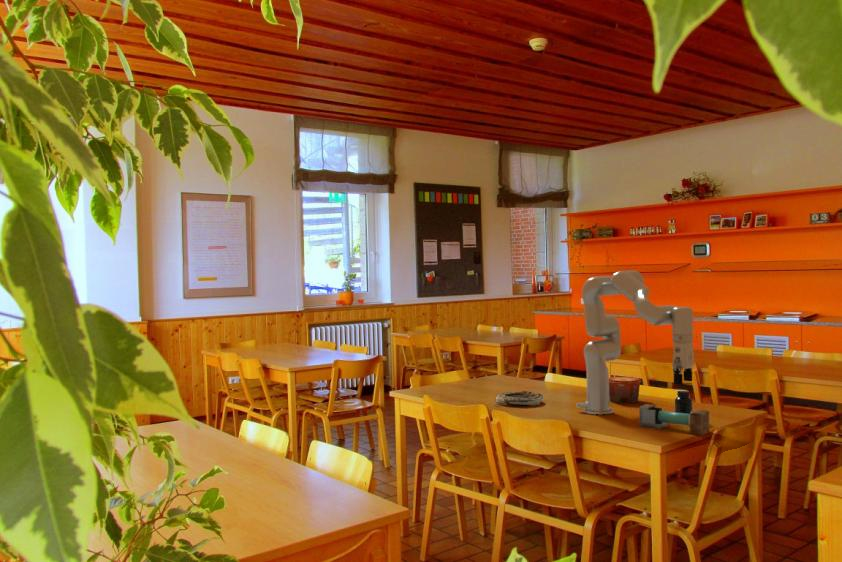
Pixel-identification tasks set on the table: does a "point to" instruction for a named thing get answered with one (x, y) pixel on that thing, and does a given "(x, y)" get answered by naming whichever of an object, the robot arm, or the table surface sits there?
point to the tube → (674, 417)
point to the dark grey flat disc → (519, 398)
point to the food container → (624, 389)
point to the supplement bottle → (683, 402)
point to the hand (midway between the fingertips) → (683, 382)
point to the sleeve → (650, 417)
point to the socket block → (699, 422)
